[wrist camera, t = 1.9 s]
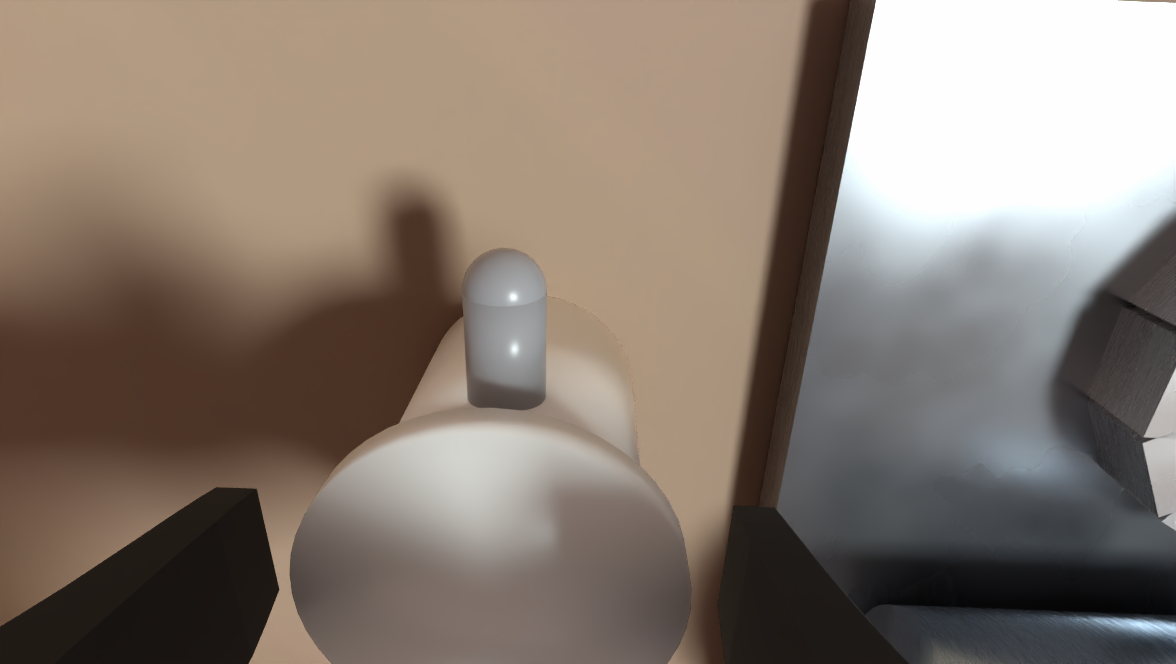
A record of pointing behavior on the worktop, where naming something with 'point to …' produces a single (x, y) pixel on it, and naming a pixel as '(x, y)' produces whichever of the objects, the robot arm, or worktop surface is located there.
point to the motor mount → (992, 333)
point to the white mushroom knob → (500, 503)
